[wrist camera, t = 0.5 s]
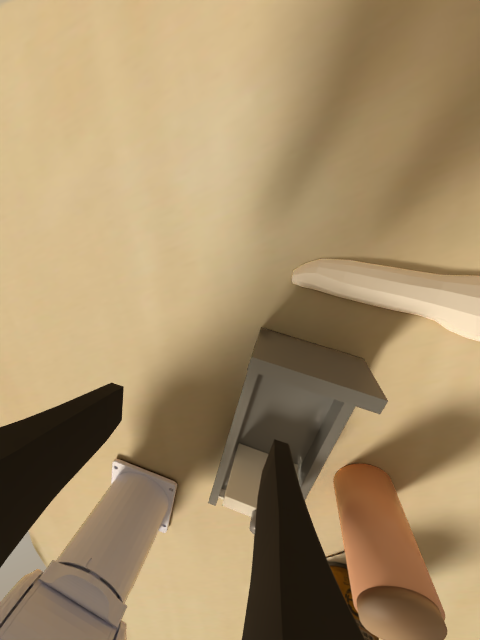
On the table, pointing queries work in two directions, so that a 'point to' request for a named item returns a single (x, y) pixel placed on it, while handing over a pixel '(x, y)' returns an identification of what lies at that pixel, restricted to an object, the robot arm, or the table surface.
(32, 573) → the robot arm
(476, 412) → the table surface
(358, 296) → the spatula
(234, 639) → the table surface
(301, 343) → the grey tray
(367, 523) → the jar
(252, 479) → the pusher
